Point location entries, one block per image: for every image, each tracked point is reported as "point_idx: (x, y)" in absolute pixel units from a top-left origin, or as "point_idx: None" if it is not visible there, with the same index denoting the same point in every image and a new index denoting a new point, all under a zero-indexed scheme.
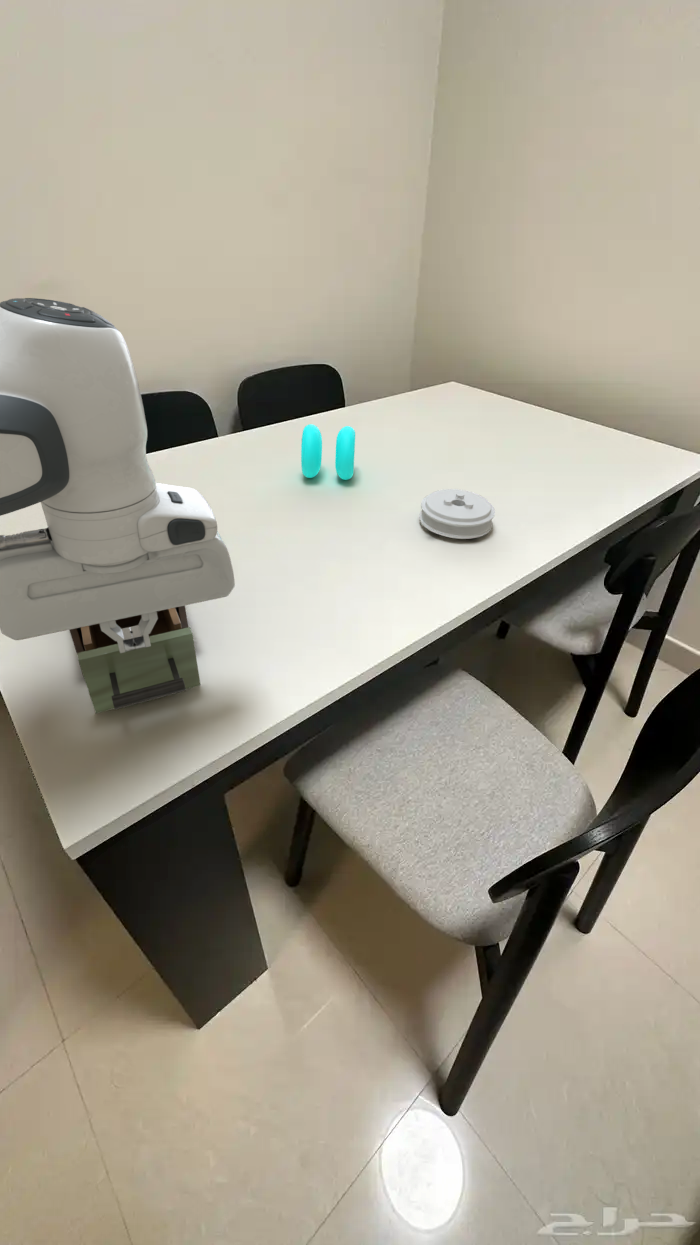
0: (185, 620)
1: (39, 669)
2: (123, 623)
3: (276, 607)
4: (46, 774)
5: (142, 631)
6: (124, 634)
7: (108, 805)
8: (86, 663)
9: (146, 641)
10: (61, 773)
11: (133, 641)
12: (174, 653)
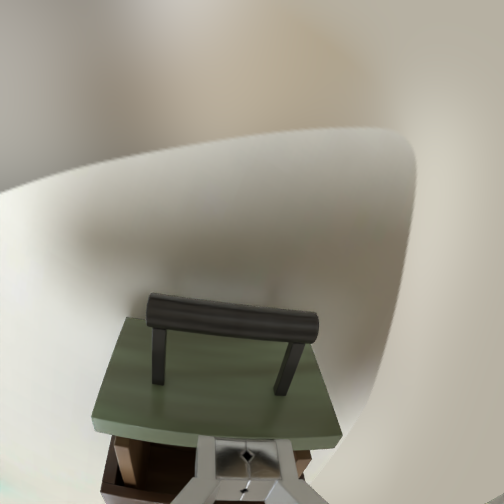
0: (114, 436)
1: None
2: None
3: (6, 386)
4: (403, 263)
5: (214, 490)
6: (266, 490)
7: (361, 153)
8: (328, 425)
9: (209, 455)
10: (388, 254)
11: (249, 466)
12: (146, 391)
